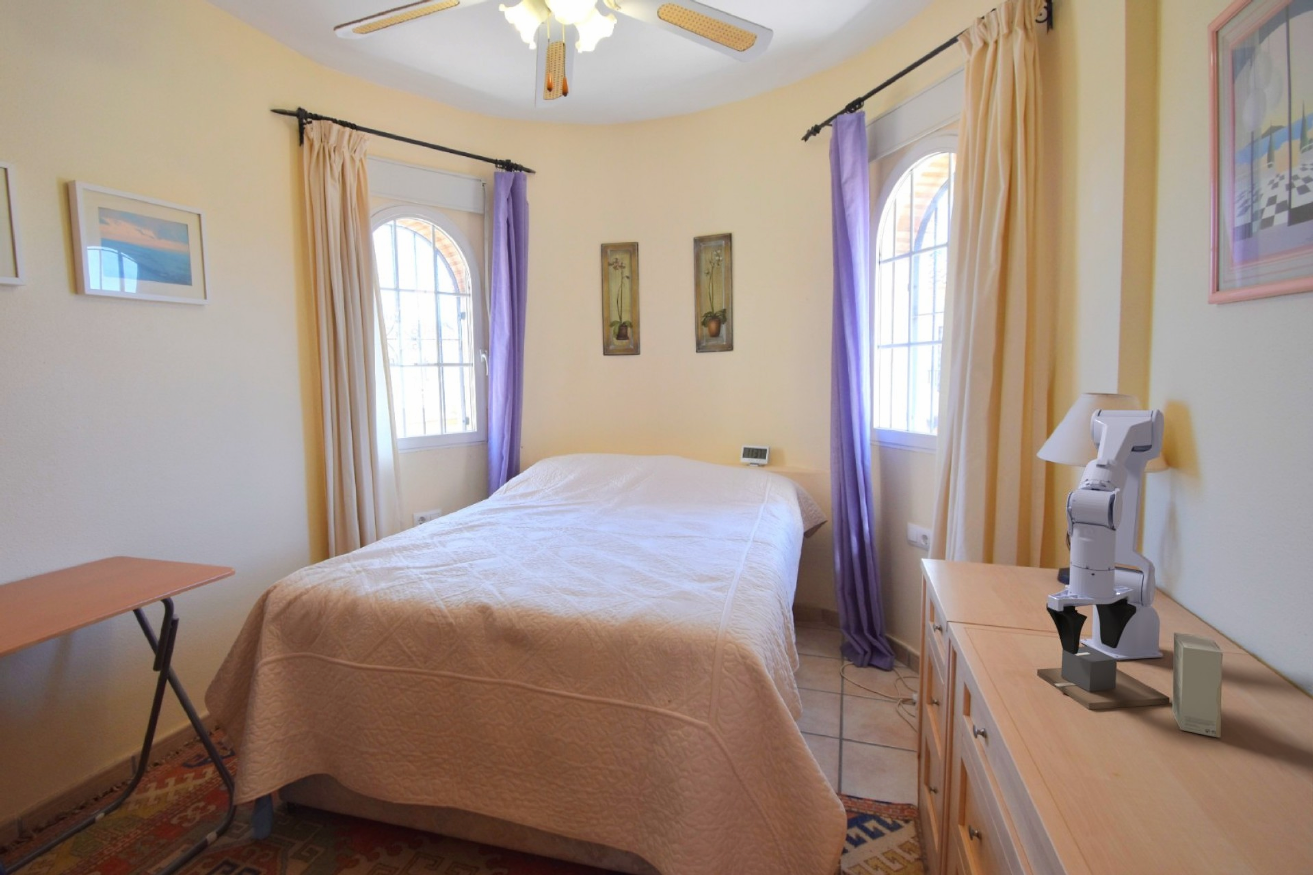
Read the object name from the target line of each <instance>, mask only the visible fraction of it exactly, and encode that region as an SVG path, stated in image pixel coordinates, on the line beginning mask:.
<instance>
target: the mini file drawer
mask: <svg viewBox="0 0 1313 875" xmlns="http://www.w3.org/2000/svg"><path fill="white" fill-rule="evenodd" d="M1061 650H1062V651H1061V652H1062V654H1061V655H1062V656H1061V657H1062V658H1061V668H1062V670H1061V677H1062V678H1064V679H1066V680H1068V681H1069V682H1071V683H1073V684H1075V685H1077V686H1079V687H1081V688H1083V689H1085V690H1086V691H1088V692H1093V691H1101V690H1108V689H1115V686H1116V669H1118V668H1117V667H1118V664H1117V663H1118V660H1117V659H1116V658H1114V657H1111V656H1109V655H1107V654H1105V653H1103V652H1100V651H1098V650H1096V649H1094V648H1091V647H1089V646H1087V645H1083V646H1079V650H1078V653H1077V654H1071V653H1069V652H1067V651H1065V650H1063V649H1061Z"/></svg>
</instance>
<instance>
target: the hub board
mask: <svg viewBox="0 0 1313 875" xmlns="http://www.w3.org/2000/svg"><path fill="white" fill-rule="evenodd" d="M1061 670H1062V667H1054V668H1053V667H1050V668H1040V669H1036V672H1037V673H1036V676H1038V677H1039V678H1041V679H1042V680H1044V681H1046V682H1047V683H1048V684H1050V685H1052V686H1053V687H1054V688H1056V689H1058V690H1059V691H1061V692H1062V693H1064V694H1065V695H1066V696H1068V697H1069V698H1071V699H1072V700H1074V701H1075V702H1077V703H1078V704H1080V705H1081V706H1082V707H1084V708H1086V709H1087V710H1101V709H1115V708H1116V709H1117V708H1129V707H1142V706H1143V707H1145V706H1154V705H1155V706H1158V705H1159V706H1160V705H1170V700H1171V699H1170V698H1171V697H1170V696H1168V695H1165V694H1164V693H1162V692H1160V691H1159V690H1157V689H1155V688H1154V687H1151V686H1149V685H1147V684H1146V683H1144V682H1142V681H1140V680H1139V679H1137V678H1135V677H1133V676H1131V675H1130V674H1128V673H1126V672H1124V671H1122V670H1120V669H1118V668H1117V669H1116V686H1115V689H1108V690H1101V691H1093V692H1088V691H1086V690H1085V689H1083V688H1081V687H1079V686H1077V685H1075V684H1073V683H1071V682H1069V681H1068V680H1066V679H1064V678H1062V677H1061Z"/></svg>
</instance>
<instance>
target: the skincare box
mask: <svg viewBox="0 0 1313 875" xmlns="http://www.w3.org/2000/svg"><path fill="white" fill-rule="evenodd" d="M1223 657H1224V651H1222V649H1221V647H1220V646H1219V645H1218V644H1217V643H1216V641H1215V639H1213V638H1212V637H1210V636H1209V637H1208V636H1202V635H1194V634H1188V633H1187V634H1186V633H1181V632H1173V672H1172V714H1173V716H1174V718H1175V720H1176V722H1177V725H1178V727H1179V729H1180V730H1181V731H1186V732H1189V733H1194V734H1199V735H1203V736H1208V737H1213V738H1218V739H1219V738H1221V733H1222V730H1221V729H1222V728H1221V727H1222V724H1221V723H1222V683H1223V681H1222V680H1223Z"/></svg>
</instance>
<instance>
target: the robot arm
mask: <svg viewBox="0 0 1313 875" xmlns="http://www.w3.org/2000/svg"><path fill="white" fill-rule="evenodd" d="M1090 419H1091V420H1090V425H1089V427H1090V430H1089V431H1090V432H1089V433H1090V438H1091V440H1092V442H1093V445H1094V447H1095V450H1097V458H1095V459H1092V460H1090V461H1089V462H1088V463H1087V464H1086V466H1085V469H1084V472H1083V474H1082V476H1081V480H1080V482H1079V484H1078V487H1077V488H1076V489H1075V491H1070V492H1069V493H1068V494H1067V498H1066V504H1065V513H1066V514H1065V515H1066V516H1065V517H1066V521H1067V534H1068V535H1069V536H1070V552H1069V553H1070V554H1069V557H1070V558H1069V559H1070V560H1069V584H1065V586H1064V589H1063V590H1060V591H1059V592H1055V593H1053V594H1048V595H1047V603H1046V608H1045V609H1046V611H1047V612H1048V614H1049V616H1050V617H1051V619H1052V621H1053V623H1054V625H1055V628H1056V631H1057V633H1058V636H1059V640H1060V643H1061V648H1062V650H1065V651H1067V652H1069V653H1071V654H1077V653H1078V650H1079V647H1080V643H1081V644H1083V645H1084V646H1089V647H1091V648H1094V649H1096V650H1098V651H1100V652H1103V653H1105V654H1107V655H1109V656H1111V657H1114V658H1116V659H1117V661H1121V660H1135V659H1137V660H1139V659H1151V658H1152V659H1153V658H1163V656H1164V655H1163V653H1161V652H1160V629H1161V627H1160V625H1161V619H1160V617H1159V614H1158V612H1157V610H1156V609H1155V608H1154V606H1152V605H1153V604H1154V600H1155V595H1156V567H1155V565H1154V563H1153V562H1152V561H1151V560H1149V559H1148V558H1147V557H1146V556H1144V555H1143V554H1142V553H1141V552H1139V551H1138V540H1139V526H1140V516H1141V505H1142V494H1143V493H1142V492H1143V481H1144V472H1145V469H1146V467H1147V465H1148V462H1149V461H1152V460H1154V459H1158V458H1160V455H1161V452H1162V450H1163V440H1164V438H1163V437H1164V432H1165V431H1164V429H1165V417H1164V413H1162V411H1161V410H1160V409H1155V408H1154V410H1152V409H1151V410H1149V409H1147V410H1146V409H1145V410H1144V409H1140V410H1139V409H1138V410H1137V409H1136V410H1135V409H1134V410H1133V409H1130V410H1129V409H1126V410H1125V409H1124V410H1123V409H1101V408H1100V409H1099V408H1098V409H1097V408H1096V410H1095V411H1094V412H1093V413H1092V415H1091V418H1090ZM1116 564H1117V565H1124V566H1129V567H1135V568H1138V569H1133V568H1129V567H1128V568H1127V567H1122V566H1116ZM1087 606H1092V627H1091V628H1092V629H1091V631H1092V633H1091V634H1092V635H1091V636H1092V637H1091V638H1081V633H1082V629H1083V627H1084V625H1085V622H1086V621H1087V618H1088V616H1087V615H1084V614H1083V613H1081V612H1079V611H1078V609H1076V608H1078V607H1079V608H1080V607H1087Z"/></svg>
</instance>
